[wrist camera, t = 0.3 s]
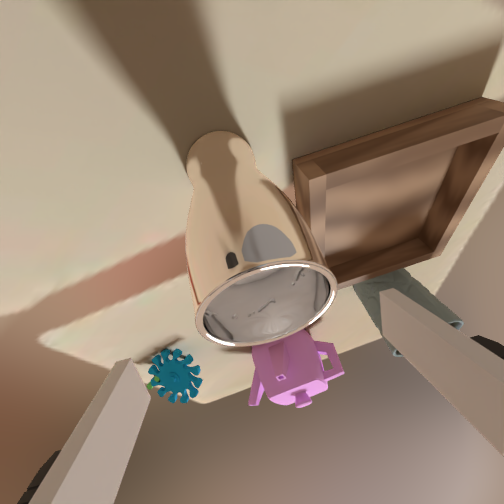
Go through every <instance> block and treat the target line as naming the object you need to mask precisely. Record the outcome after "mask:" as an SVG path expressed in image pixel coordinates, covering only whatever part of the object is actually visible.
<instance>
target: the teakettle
mask: <svg viewBox="0 0 504 504" xmlns="http://www.w3.org/2000/svg"><path fill="white" fill-rule="evenodd" d="M320 354H324V355H328V357H329V359H330V361H331V364H332V366H333V368H334V369H331V370H327V371H324V368H323V364H322V361H321V357H320ZM252 357H253V361H254V364H255V372H254V377H253V382H252V387H251V392H250V397H249V402H248V405H250V406H254V405H259V401H260V399H261V396H262V394H263V391H264V390H265V392H266V394H267V396H268V398H269V399H270V400H271V401H273V402H274V403H277V404H281V405H289V404H292V403H294V402H295V403H296V407H297V408H300V407H304V406H307V405H309V404H311V403H312V401H311V399H310V396H313V395H315V394H318V393H320V392H323V391H325V390H327V389H328V385H327V381H329V380H331V379H333V378H336V377H338V376H340V375H342V374H344V371H343V368H342V365H341V363H340V360H339V358H338V355H337V352H336V350H335V347H334V345H333V343H327V342H320V341H314V340H313V339H312V337H311V336H310V335H309V334H308V332H307V331H306V330H305V329H302V330H300V331H298V332H296V333H294V334H292V335H289V336H287V337H285V338H282V339H279V340H276V341H273V342H269V343H265V344H260V345H254V346H252Z"/></svg>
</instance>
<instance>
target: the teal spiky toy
mask: <svg viewBox="0 0 504 504" xmlns="http://www.w3.org/2000/svg"><path fill="white" fill-rule="evenodd" d="M169 354H170V350H168V349H165V350H163V351H162V352H161V356H162V357H163V360H164V364H162V363H161V356H160V355H157V356H155V357H154V358H153V359H152V362H153V363H154V364H156V365H157V367H158V368H159V370H158V369H157V367H156V366H155V365H152V366H151V367H150V369H149V371H148V373H149V374H153V375H154V377H153V378H152V379H151V381H150V382H149V384H148V385H147V388H148V389H152V388H153V386H156V385H162V386H164V387H165V388H164V387H161V388H160V389H159V390H158V394H159V396H160V397H163V396H164V394H165V393H166V392H168V391H172V392H173V394H171V395H170V397H169V399H168V400H169V401H170V402H172V403H174V402H175V401H176V399H177V393H178V392H180V393H182V397H181V399H180V402H181V403H187V401H188V400H189V396H188V394H187V391H186V389H189V390H190V397H191V398H194V397H195V396H197V394H198V390H197V389H196V388H199V387H200V385H201V383H202V381H203V380H202V379H201V378H197V377H194V376H193V375H192V374H191V373H190V372H192V373H193V374H194V375H198V374H199V373H200V366H198V365H197V366H194V367H189V366H187V365H188V364H191V362H192V361H193V358H192V356H191V355H190V354H189V355H187V357H186V358H185V359H184V360H182V361H178V360H177V358H178V357H179V356H180V355H181V354H182V351H181V350H179V349H176V350H175V351H174V352H173V359H172V360H169V359H168V355H169ZM191 381H192V382H193V383H194V385H195V387H196V388H194V386H193V385H192V383H191Z"/></svg>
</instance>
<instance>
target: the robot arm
mask: <svg viewBox="0 0 504 504" xmlns="http://www.w3.org/2000/svg"><path fill="white" fill-rule="evenodd" d="M379 293H380V306H381V320H382V333H383V336H384V337H385V338H386V339H387V340H388V341H389V342H390V343H391V344H392V345H393V346H394V347H395V348H396V349H397V350H398V351H399V352H400V353H401V354H402V355H403V356H404V357H405V358H406V359H407V360H408V361H409V362H410V363H411V364H412V365H413V366H414V367H415V368H416V369H417V370H418V371H419V372H420V373H421V374H422V375H423V376H424V377H425V378H426V379H427V380H428V381H429V382H430V383H431V384H432V385H433V386H434V387H435V388H436V389H437V390H438V391H439V392H440V393H441V394H442V395H443V396H444V397H445V398H446V399H447V400H448V401H449V402H450V403H451V404H452V405H453V406H454V407H455V408H456V409H457V410H458V411H459V412H460V413H461V414H462V415H463V416H464V417H465V418H466V419H467V420H468V421H469V422H470V423H471V424H472V425H473V426H474V427H475V428H476V429H477V430H478V431H479V433H480V434H482V435H483V437H485V438H486V440H487V441H488V442H489V443H490V444H491V445H492V446H493V447H494V448H496V450H498V452H499V453H500V454H501V455H502V456H503V457H504V346H503V345H501V344H499V343H498V342H495V341H492V340H490V339H487V338H484V337H482V336H479V335H478V336H474V337H470V338H469V337H468V336H466V335H464V334H463V333H462V332H460V331H459V330H457V329H456V328H454V327H453V326H451V325H449V324H448V323H446V322H445V321H443V320H442V319H440V318H439V317H437V316H436V315H434V314H433V313H431V312H430V311H428V310H427V309H425V308H423V307H422V306H420V305H419V304H417V303H416V302H414V301H413V300H411V299H410V298H408V297H407V296H405V295H404V294H402V293H401V292H399V291H397V290H396V289H394V288H391V289H388V290H384V291H380V292H379ZM150 399H151V397H150V395H149V393H148V391H147V389H146V387H145V385H144V383H143V381H142V379H141V377H140V375H139V373H138V371H137V369H136V367H135V365H134V363H133V361H132V359H131V358H129V359H125V360H121V361H117V362H116V363H115V365H114V366H113V368H112V369H111V371H110V373H109V374H108V376H107V378H106V379H105V381H104V383H103V384H102V386H101V387H100V389H99V390H98V392H97V394H96V395H95V397H94V399H93V400H92V402H91V403H90V405H89V407H88V408H87V410H86V411H85V413H84V415H83V416H82V418H81V420H80V421H79V423H78V424H77V426H76V428H75V429H74V431H73V433H72V434H71V436H70V437H69V439H68V441H67V442H66V444H65V445H64V447H63V449H62V450H59V451H56V452H55V453H54V454H53V455H52V456H51V457H50V458H49V460H48V461H47V462H46V463H45V464H44V465H43V466H42V467H41V468H40V470H39V471H38V473H37V474H36V476H35V477H34V479H33V480H32V482H31V483H30V485H29V486H28V488H27V492H24V494H23V496H22V497H21V499H20V500H19V502H18V503H17V504H113V503H114V500H115V497H116V495H117V492H118V489H119V486H120V483H121V480H122V478H123V475H124V472H125V469H126V466H127V464H128V461H129V458H130V455H131V452H132V450H133V447H134V444H135V441H136V438H137V436H138V433H139V430H140V427H141V424H142V422H143V419H144V416H145V413H146V410H147V408H148V405H149V402H150Z"/></svg>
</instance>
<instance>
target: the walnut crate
mask: <svg viewBox="0 0 504 504" xmlns="http://www.w3.org/2000/svg"><path fill="white" fill-rule="evenodd" d="M503 147H504V102H500V101H496V100H492V99H488V98H484V97H481V98H478V99H475V100H472V101H469V102H466V103H463V104H460V105H457V106H454V107H451V108H448V109H445V110H441V111H438V112H435V113H432V114H429V115H426V116H423V117H420V118H417V119H414V120H411V121H408V122H405V123H402V124H399V125H396V126H393V127H390V128H387V129H384V130H381V131H378V132H375V133H372V134H369V135H366V136H363V137H360V138H357V139H354V140H351V141H348V142H345V143H342V144H339V145H336V146H333V147H330V148H327V149H324V150H321V151H317V152H314V153H311V154H308V155H305V156H302V157H299V158H296V159H293V160H292V165H293V176H294V187H295V197H296V208H297V210H298V211H299V212H300V214H301V215H302V217H303V219H304V220H305V222H306V224H307V225H308V227H309V229H310V230H311V232H312V234H313V236H314V238H315V240H316V242H317V244H318V246H319V248H320V249H321V252H322V254H323V256H324V258H325V260H326V262H327V264H328V266H329V268H330V269H331V271H332V273H333V274H334V275H335V277H336V279H337V284H338V289H337V290H339V289H342V288H345V287H348V286H351V285H354V284H357V283H360V282H363V281H366V280H369V279H372V278H375V277H378V276H381V275H384V274H387V273H389V272H392V271H395V270H398V269H401V268H404V267H407V266H410V265H413V264H416V263H419V262H422V261H425V260H428V259H431V258H434V257H437V256H440V255H441V253H442V252H443V250H444V248H445V246H446V245H447V243H448V241H449V240H450V238H451V236H452V234H453V233H454V231H455V229H456V228H457V226H458V224H459V222H460V221H461V219H462V217H463V216H464V214H465V212H466V210H467V209H468V207H469V205H470V204H471V202H472V200H473V198H474V197H475V195H476V193H477V192H478V190H479V188H480V187H481V185H482V183H483V181H484V180H485V178H486V176H487V175H488V173H489V171H490V169H491V168H492V166H493V164H494V163H495V161H496V159H497V157H498V156H499V154H500V152H501V151H502V149H503Z"/></svg>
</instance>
